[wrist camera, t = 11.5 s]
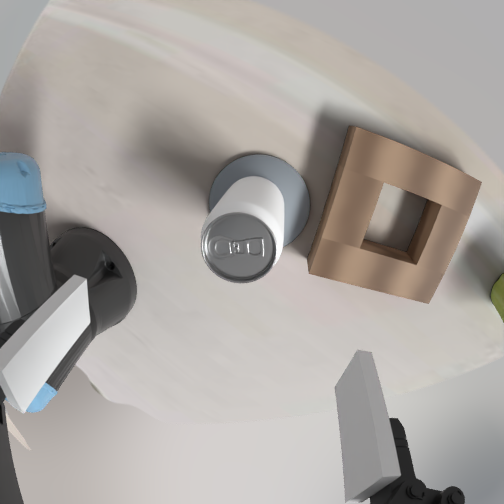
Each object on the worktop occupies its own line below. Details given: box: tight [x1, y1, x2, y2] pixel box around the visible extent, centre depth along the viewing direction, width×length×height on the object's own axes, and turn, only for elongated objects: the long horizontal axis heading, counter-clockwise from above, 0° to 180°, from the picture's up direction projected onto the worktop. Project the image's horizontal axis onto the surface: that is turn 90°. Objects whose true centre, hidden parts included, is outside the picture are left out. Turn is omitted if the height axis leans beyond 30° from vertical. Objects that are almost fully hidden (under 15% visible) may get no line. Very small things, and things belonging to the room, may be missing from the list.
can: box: [201, 176, 284, 283], centre depth 28 cm, size 6×6×12 cm
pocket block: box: [307, 126, 482, 304], centre depth 31 cm, size 16×16×4 cm
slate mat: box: [209, 154, 310, 247], centre depth 34 cm, size 11×11×1 cm
